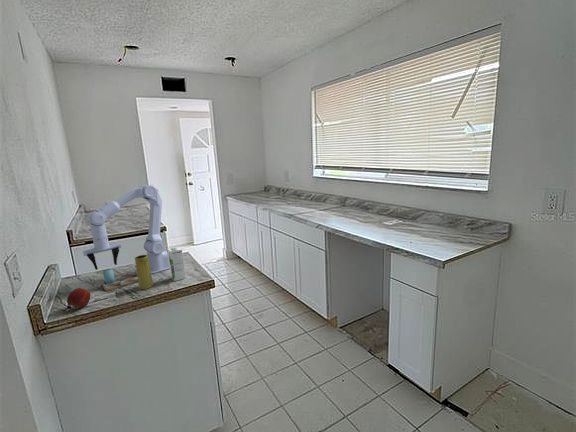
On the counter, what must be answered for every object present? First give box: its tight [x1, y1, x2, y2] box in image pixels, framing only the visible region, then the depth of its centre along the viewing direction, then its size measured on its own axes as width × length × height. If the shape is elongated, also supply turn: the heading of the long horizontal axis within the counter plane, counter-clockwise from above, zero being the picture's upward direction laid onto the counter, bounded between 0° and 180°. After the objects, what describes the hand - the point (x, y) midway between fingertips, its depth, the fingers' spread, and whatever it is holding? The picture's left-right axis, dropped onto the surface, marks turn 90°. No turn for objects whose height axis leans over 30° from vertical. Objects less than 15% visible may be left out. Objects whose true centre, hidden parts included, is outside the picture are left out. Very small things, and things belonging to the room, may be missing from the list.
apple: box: [66, 287, 91, 309], centre depth 119 cm, size 7×8×8 cm
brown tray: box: [101, 271, 138, 293], centre depth 141 cm, size 15×11×2 cm
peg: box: [102, 268, 116, 285], centre depth 138 cm, size 4×4×7 cm
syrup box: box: [167, 246, 187, 282], centre depth 141 cm, size 6×6×14 cm
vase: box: [134, 254, 154, 290], centre depth 134 cm, size 6×6×14 cm
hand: (106, 266), depth 137 cm, fingers open, 7 cm apart
